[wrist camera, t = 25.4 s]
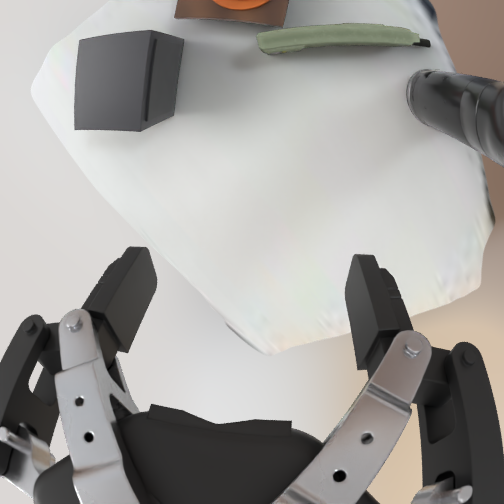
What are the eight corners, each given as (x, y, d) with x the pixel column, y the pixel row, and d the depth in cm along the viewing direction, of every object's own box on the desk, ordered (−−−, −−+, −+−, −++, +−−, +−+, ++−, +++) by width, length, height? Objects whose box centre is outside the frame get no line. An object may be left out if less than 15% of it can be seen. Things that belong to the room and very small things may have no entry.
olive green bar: (258, 35, 28) (423, 33, 23) (263, 56, 30) (426, 52, 25) (254, 29, 23) (446, 32, 18) (260, 54, 25) (449, 54, 20)
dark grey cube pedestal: (188, 40, 29) (154, 29, 19) (178, 114, 36) (142, 132, 26) (126, 42, 29) (79, 40, 19) (119, 111, 36) (74, 129, 26)
